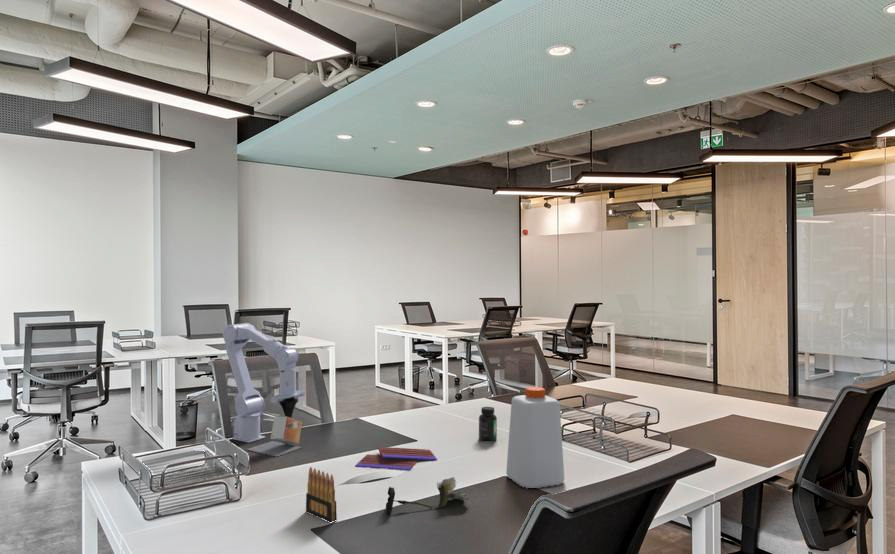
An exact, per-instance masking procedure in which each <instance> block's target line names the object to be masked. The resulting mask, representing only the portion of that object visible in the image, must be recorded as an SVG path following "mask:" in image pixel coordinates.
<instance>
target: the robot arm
mask: <svg viewBox="0 0 895 554" xmlns="http://www.w3.org/2000/svg"><path fill="white" fill-rule="evenodd" d="M222 337H223V340H224V343H225V350H226V355H227V357H228V361H229V364H230V368H231V372H232V375H233V378H234V381H235V385H236V389H237V391H238V393H237V395H236V396H235V398H234V402H235V412H236V414H237V416H236V417H235V419H234V421H233V422H234V423H233V437H231V438H232V440H234V441H235V440H236V441H240V442H245V443H247V444H249V443H252V442H256V441H259V440H262V439H265V438H266V436H265V435H261V415H262V412H263V410H264V409H265V406H266V405H265V400H264V398H263V396H261V393H260V391H259V390H257V389H255V388H254V386H253V383H252V379H251V376H250V372H249V369H248V366H247V362H246V359H245V356H244V355H245V354H244V352H243V348H244V346H246V344H247V343H248V342H249V341H251V342H254V343H255V344H257V345H259V346H261V347H263V348H262V349H263V351H264V352H265V353H266V354H268V355H269V356H270V357H272V358H274V359H275V361H276V363H277V367H278V370H279V394H276V395H274V396H271V397H270V403H272V404H276V403H279V405H280V406H281V408H282V411H283V413H284V417H290V418H292V417H293V413H294V409H295V407H296V405H297V403H298V398H299V397H305V396H306V395H305V393H306V392H305V390H302V389H300V390H297V370H296V368H297V367H296V365H297V362H298V361H299V359H300V354H299V351H298V350H297V349H296V348H295V347H288V346H287V345H286V344H282V343H281V342H280V341H279V339H278V338H268V337H266V336H265V335H264V334H263V333H261V332H260V331H258V330H257V328H256V327H255V326H254V325H252V324H251V323H249V322H244V323H237V324H227V325H226V326H225V328H224V329H223V332H222ZM292 419H293V418H292Z"/></svg>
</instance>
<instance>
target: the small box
mask: <svg viewBox="0 0 895 554" xmlns="http://www.w3.org/2000/svg"><path fill="white" fill-rule="evenodd" d="M302 426H303V422H302V421H299V420H297V419H295V418H290V417H285V416H273V421H272V427H271V428H272V429H271V434H270V440H272V441H275V442H280V443H284V444H289V445H299V444H300V438H301V432H302Z"/></svg>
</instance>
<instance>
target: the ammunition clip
mask: <svg viewBox="0 0 895 554" xmlns="http://www.w3.org/2000/svg"><path fill="white" fill-rule="evenodd" d="M334 478H335V477H334V475H333V474H331V475H329V473H328V472H326V474H325V471H323V470H322V472H321V470H320V469H318V470H317V469H316V468H313V467H312V466H310V467H309V470H308V477H307V479H308V480H307V492H306V495H305V513H306V512H309V513H311V514H313V515H315V516H318V517H320V518H323V519H325V520H327V521H329V522H332V521H335V520H338V519H337V518H338V517H337V515H338V514H337V501H336V490H335V479H334ZM311 514H310V515H311ZM313 515H312V516H313ZM315 516H314V517H315Z"/></svg>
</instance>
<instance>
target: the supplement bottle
mask: <svg viewBox="0 0 895 554" xmlns="http://www.w3.org/2000/svg"><path fill="white" fill-rule="evenodd" d="M497 420H498V418H497V416H496V415H495V407H492V406H483V407H481V414H480V415H479V417H478V440H479V441H480V442H484V441H493V442H495V441H496V440H497V437H498V436H497V435H498V433H497V432H498V423H497V422H498V421H497Z"/></svg>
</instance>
